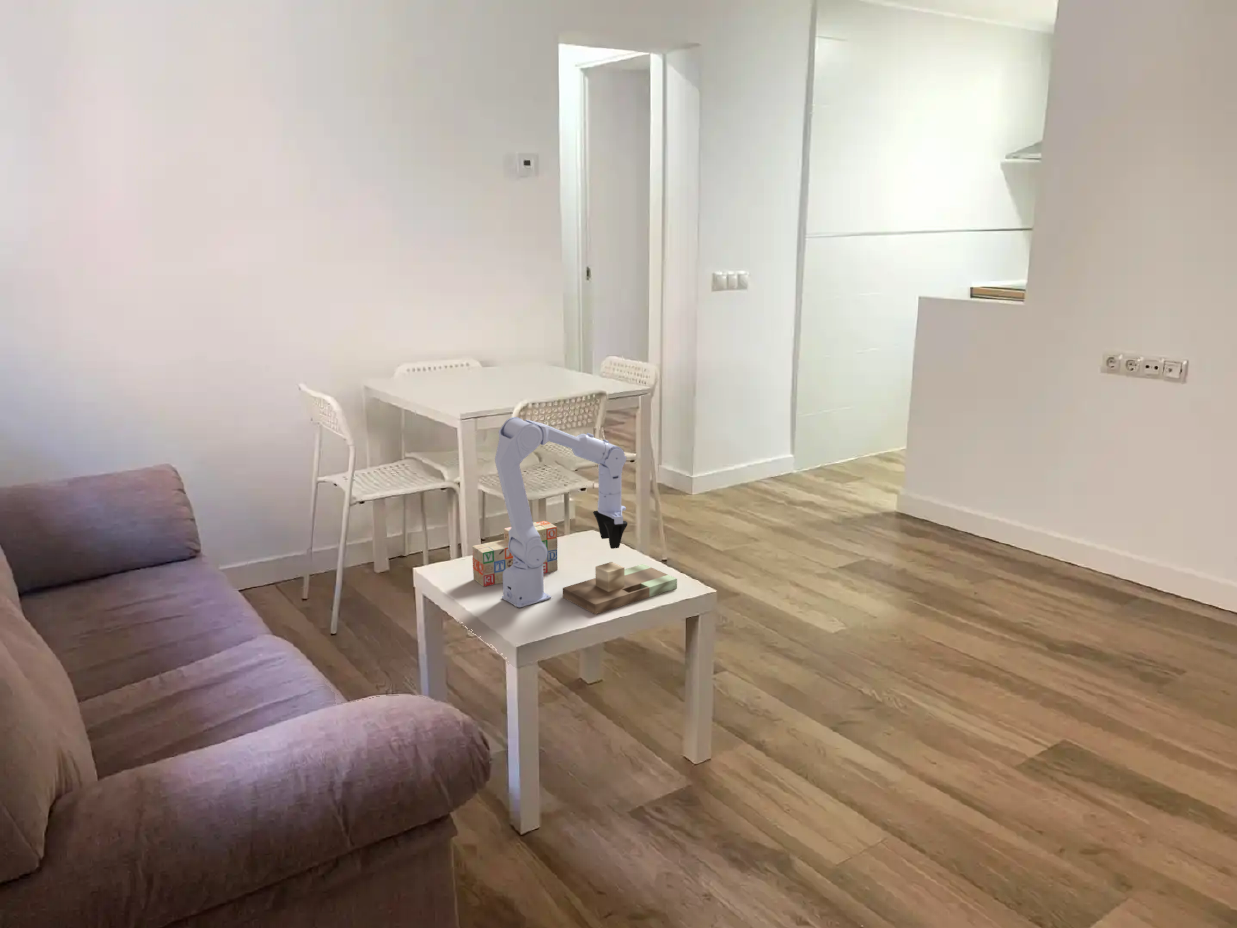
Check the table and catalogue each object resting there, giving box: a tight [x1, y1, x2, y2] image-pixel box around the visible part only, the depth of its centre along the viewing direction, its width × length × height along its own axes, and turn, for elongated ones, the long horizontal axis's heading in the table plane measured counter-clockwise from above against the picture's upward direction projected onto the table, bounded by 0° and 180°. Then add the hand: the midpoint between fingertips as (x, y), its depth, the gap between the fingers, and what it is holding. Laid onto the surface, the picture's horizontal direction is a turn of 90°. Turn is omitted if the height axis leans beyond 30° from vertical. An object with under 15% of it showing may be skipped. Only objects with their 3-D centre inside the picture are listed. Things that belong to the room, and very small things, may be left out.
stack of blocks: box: [471, 520, 559, 587], centre depth 247 cm, size 21×6×12 cm, turn 123°
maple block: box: [594, 561, 625, 592], centre depth 233 cm, size 5×5×5 cm
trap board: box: [562, 563, 678, 615], centre depth 236 cm, size 26×13×2 cm, turn 129°
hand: (610, 543), depth 242 cm, fingers open, 7 cm apart
